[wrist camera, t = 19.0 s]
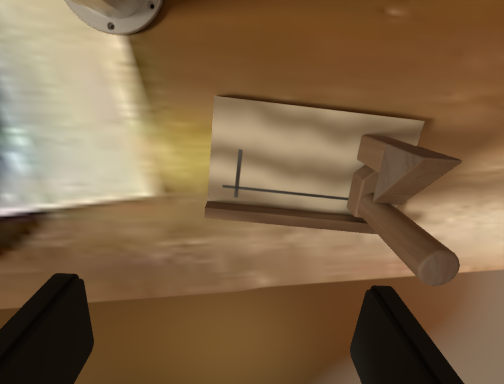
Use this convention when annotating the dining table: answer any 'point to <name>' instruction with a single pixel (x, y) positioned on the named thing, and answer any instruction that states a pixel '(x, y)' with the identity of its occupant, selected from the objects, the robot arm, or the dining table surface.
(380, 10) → the dining table surface
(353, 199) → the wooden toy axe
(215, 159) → the marking board
